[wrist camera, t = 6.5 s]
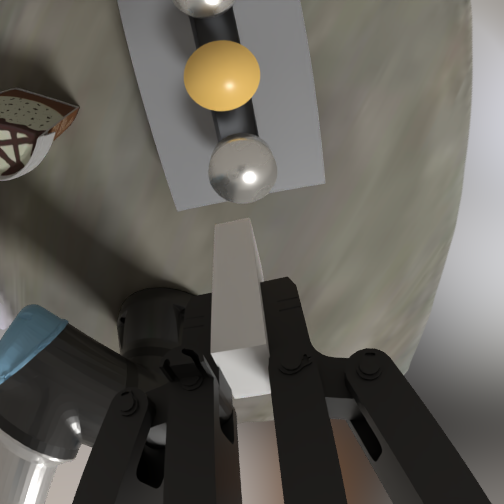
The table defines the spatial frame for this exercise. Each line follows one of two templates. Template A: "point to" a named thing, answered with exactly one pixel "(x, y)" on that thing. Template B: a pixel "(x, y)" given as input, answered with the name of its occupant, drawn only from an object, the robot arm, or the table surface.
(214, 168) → the knob
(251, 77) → the yellow round knob
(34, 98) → the food container
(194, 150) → the mount
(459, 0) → the table surface
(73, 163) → the table surface
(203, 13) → the knob
